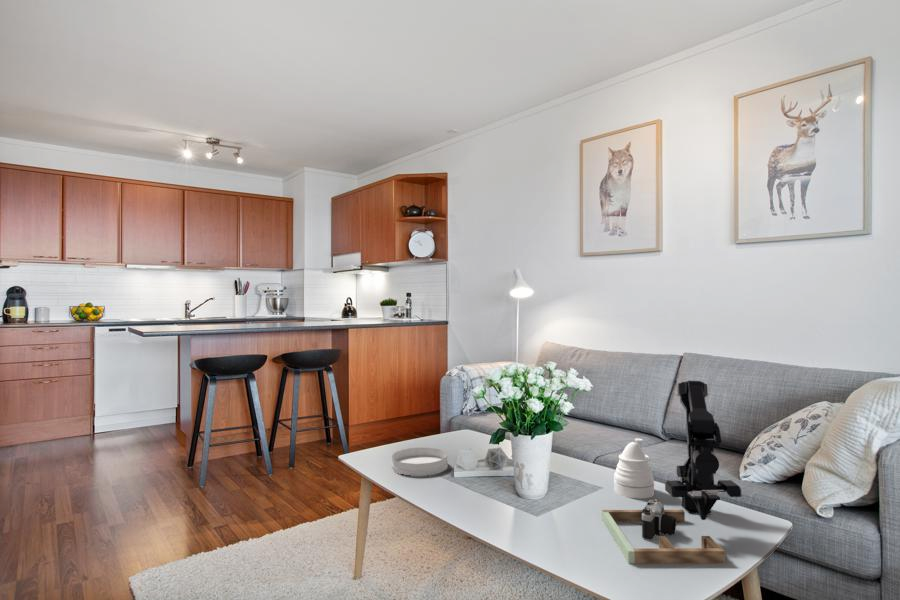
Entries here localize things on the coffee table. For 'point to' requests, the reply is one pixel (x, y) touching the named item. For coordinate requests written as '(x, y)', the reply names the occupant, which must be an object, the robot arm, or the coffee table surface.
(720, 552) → the trap box
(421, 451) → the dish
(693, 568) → the coffee table surface
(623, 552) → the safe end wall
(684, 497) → the robot arm
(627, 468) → the honey pot
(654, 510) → the camera
